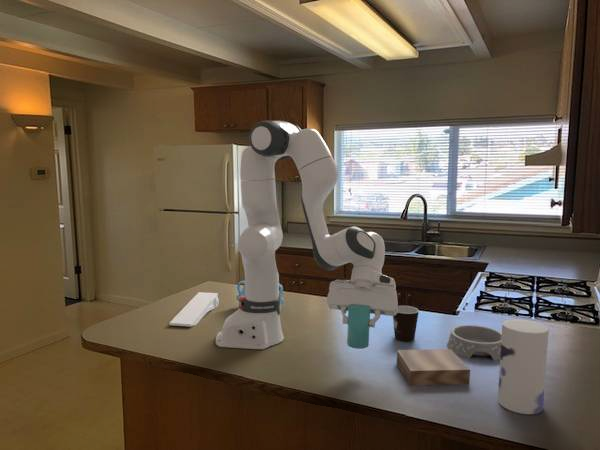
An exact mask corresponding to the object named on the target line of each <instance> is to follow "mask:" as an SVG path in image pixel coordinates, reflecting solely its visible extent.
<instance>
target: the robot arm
mask: <svg viewBox="0 0 600 450" xmlns="http://www.w3.org/2000/svg"><path fill="white" fill-rule="evenodd" d="M248 143H249V145H248V146H247V147H246V148H244V149H243V150H242V152H241V157H240V158H241V159H240V191H241V204H242V208H243V209H244V212H245V215H246V220H247V223H248V224H247V225H248V227H246V228H245V229H244V230H243V231H242V233H241V234H240V236H239V238H238V240H237V247H238V251H239V253H240V255H241V261H242V266H243V270H244V281H245V284H244V285H245V297H244V296H239V301H238V302H239V303H238V306H239V308H238V309H237V310H235V311H234V312H233V313H232V314H230V315H229V316H228V317H227V318H226V319H225V321H224V322H223V326H222V330H221V331H218V332H217V335H216V337H215V344H216V346H218V347H219V348H231V349H232V348H234V349H249V350H250V349H251V350H266V349H267V348H269V347H272V346H274V345H277V344H280V343H281V342H283V341H284V339H285V336H284V334H283V330H282V329H283V328H282V323H281V317H280V316H281V315H280V314H281V309H282V308H281V305H282V304H281V302H282V301H281V300H280V297H279V293H280V287H279V284H280V279H279V278H280V274H279V272H278V266H277V262H276V251H277V250H278V249H279V248H280V246H282V242H283V238H284V234H283V229H282V226H281V225H282V223H281V219H280V213H279V209H278V203H277V189H276V172H275V167H276V165H275V164H276V163H277V161H278V160H280V161H283V160H285V159H287V158H289V157H291V158H292V160H293V161H294V164H295V166H296V169H297V171H298V174H299V177H300V180H301V187H302V190H301V195H300V199H301V205H302V207H301V208H302V210H303V214H304V218H305V222H306V225H307V228H308V233H309V236H310V240H311V244H312V245H311V246H312V253H313V258H314V261H315V262H316V263H317V265H318V266H319V267H321V268H322V269H324V270H327V271H334V270H336V269H338V268H340V267H342V266H344V265H346V264H348V263H350V264H352V265H353V267H352V270H351V278H350V279H349V280H348V279H340V278H339V279H338V278H337V279H335V280H332V281H330V283H329V287H328V293H327V297H326V304H327V307H328V308H329V309H331V310H339V311H340V313H341V316H342V321H341V322H342V324H343V325H348V315H346V314H347V313H348V307H349V305H350V304H360V305H369V306H370V315H371V314H372V315H374V316H373V317H372V318H370V320H369V328H375V326H376V323H377V322H378V320H379V319H380V318H381V316H390V317H393V316H395V315H396V314H397V312H398V306H399V305H398V304H399V303H398V292H397V290H396V288H397V286H396V281H395V279H394V278H393V277H390V276H387V275H385V274H383V273H382V268H383V266H384V263H385V257H386V256H385V255H386V247H385V241H384V239H383V237H382V235H380V234H378V233H377V232H374V231H365V230H363V229H362V228H360V227H358V226H355V225H354V226H350V227H347V228H343V229H342V230H340V231H338V232H336V233H333V234H330V233H329V230H328V226H327V223H326V219H325V216H324V215H325V214H324V210H323V209H324V203H325V201H326V199H327V198H328V196H329V195H330V194H331V192H332V191H333V189H334V188H335V186H336V184H337V182H338V179H339V171H338V170H339V169H338V167H337V165H336V161H335V160H334V157H333V154H332V152H331V151H330V149H329V147H328V144H327V143H326V142H325V140H324V139H323V137H322V136H321V133H319V131H317V130H316V129H314V128H304V129H303V128H302V129H301V127H299V125H297V124H295V123H294V122H288V121H285V120H262V121H259V122H257V123H256V124H254V125H253V126H252V127H251V129H250V132H249V134H248Z"/></svg>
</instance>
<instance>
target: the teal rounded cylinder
mask: <svg viewBox="0 0 600 450" xmlns="http://www.w3.org/2000/svg"><path fill="white" fill-rule="evenodd" d="M347 313H348V314H347V316H348V324H347V332H346V333H347V335H346V336H347V340H346V345H347V346H348V347H350V348H352V349H356V350H357V349H358V350H360V349H362V350H363V349H366V348H368V347H369V346H370V344H369V342H370V327H369V320H370V319H371V313H370V306H369V305H360V304H350V305H349V307H348V311H347Z"/></svg>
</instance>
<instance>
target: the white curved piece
mask: <svg viewBox="0 0 600 450" xmlns="http://www.w3.org/2000/svg"><path fill="white" fill-rule="evenodd" d="M218 295H219V293H217V292H203V291H199V292H197V294H196V295H195V296H194V297H193V298H191V300H189V302H188V303H187V304H186V305H185V306H184V307H183V308H182V309H180V311H179V312H178V313H177V314H176V315H175V316H174V317H173V318H172V319H171V321H170V322H169V326H178V327H189V328H190V327H194V326H196V325H197V324H199V322H200V321H201V320H202V319H203V317H204V316H206V315H207V314H208V313H209V311H212V310H214V309H216V308H217V307H218V306H219V303H220V301H219V297H218Z"/></svg>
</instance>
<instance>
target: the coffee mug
mask: <svg viewBox="0 0 600 450" xmlns="http://www.w3.org/2000/svg"><path fill="white" fill-rule="evenodd" d="M419 312H420V310H419V309H418V308H417V307H414V306H411V305H398V312H397V314H396V315H395V316H392V320H393V331H394V332H393V333H394V339H395V340H396V341H399V342H403V343H404V342H405V343H410V342H414V340H415V338H416V337H415V336H416V331H417V323H418V319H419Z"/></svg>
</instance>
